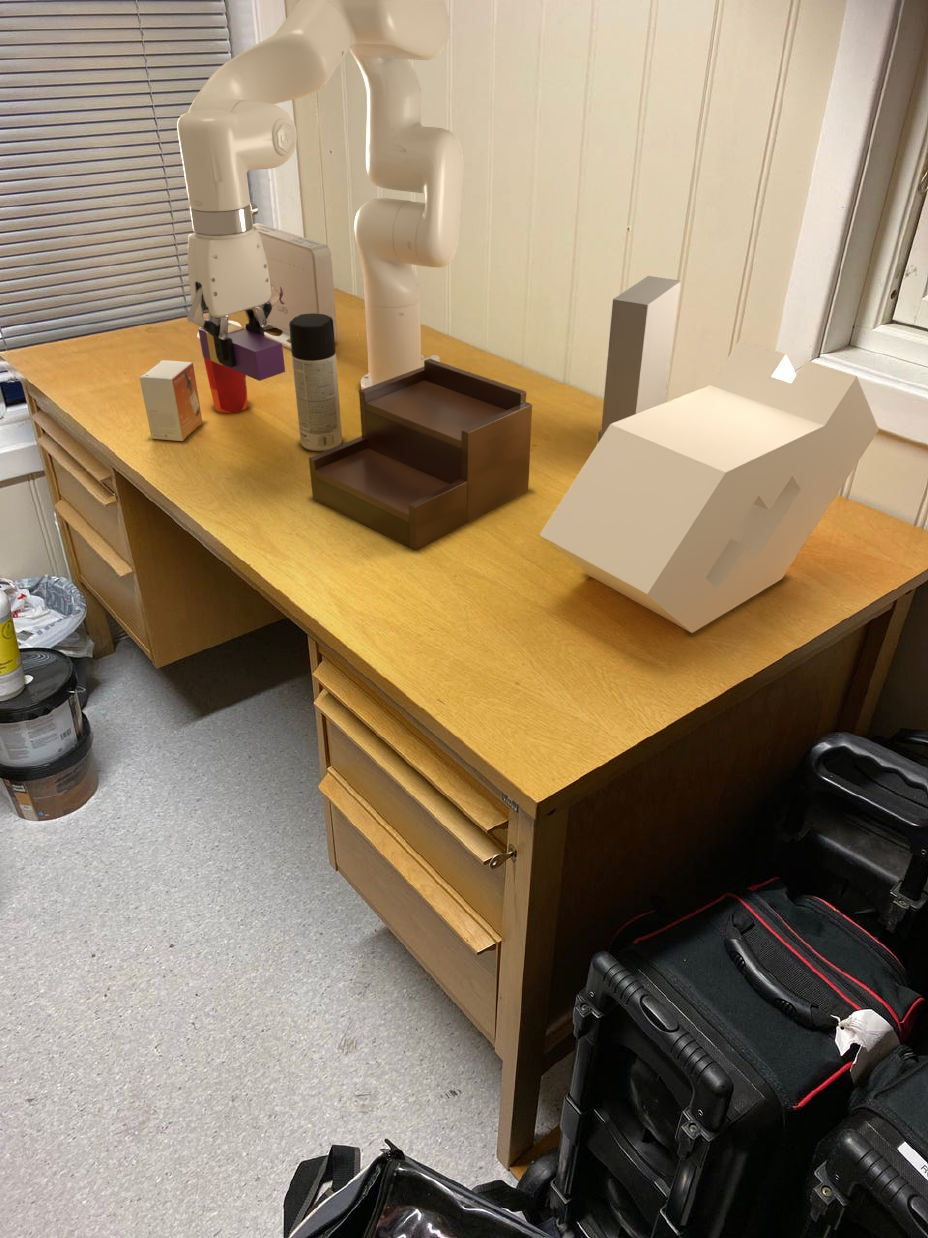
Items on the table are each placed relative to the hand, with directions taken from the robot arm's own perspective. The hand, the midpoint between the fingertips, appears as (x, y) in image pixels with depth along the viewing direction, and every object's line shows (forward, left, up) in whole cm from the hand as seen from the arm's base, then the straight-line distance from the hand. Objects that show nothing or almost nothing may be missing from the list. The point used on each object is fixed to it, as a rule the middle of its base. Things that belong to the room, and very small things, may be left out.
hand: (242, 358), depth 132 cm
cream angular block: (-23, +62, -19) cm, 69 cm away
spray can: (-15, -3, -19) cm, 24 cm away
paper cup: (-14, -26, -19) cm, 35 cm away
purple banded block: (0, 0, -1) cm, 1 cm away
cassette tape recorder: (-47, +34, -19) cm, 61 cm away
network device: (-44, -46, -19) cm, 66 cm away
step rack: (-13, +21, -19) cm, 31 cm away
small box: (-2, -24, -19) cm, 30 cm away
